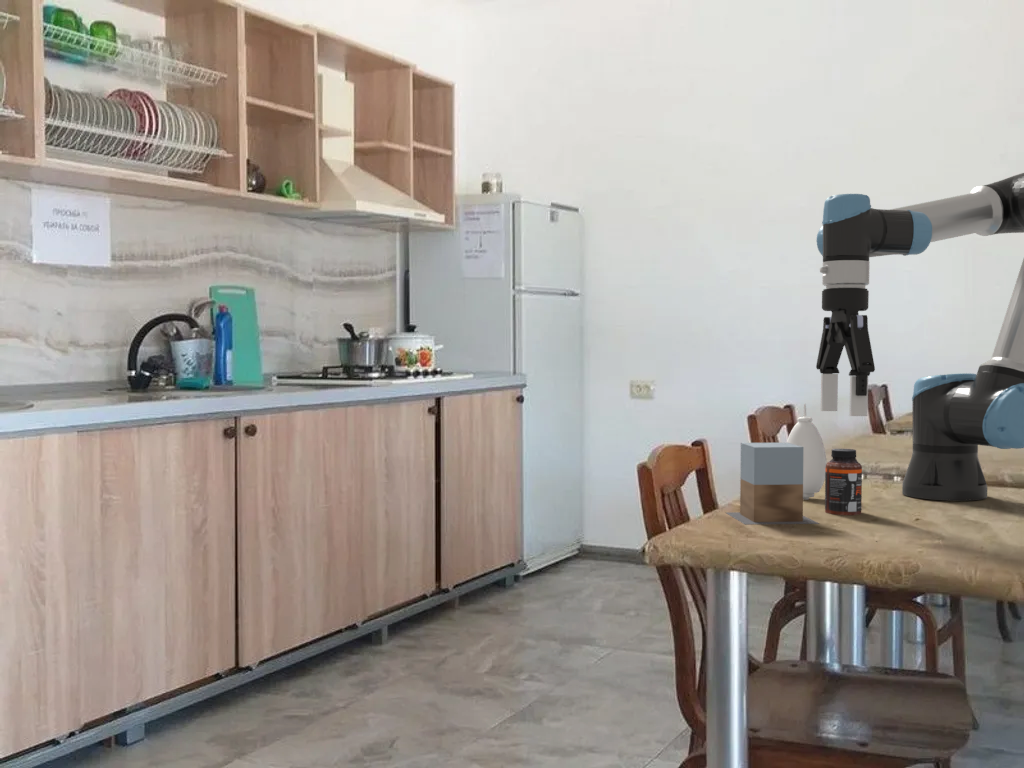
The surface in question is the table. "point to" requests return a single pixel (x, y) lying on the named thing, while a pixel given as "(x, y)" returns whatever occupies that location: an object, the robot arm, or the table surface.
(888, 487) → the table surface
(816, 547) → the table surface
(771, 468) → the slate block
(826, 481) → the supplement bottle
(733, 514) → the rubber mat
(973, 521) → the table surface
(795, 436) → the sauce bottle
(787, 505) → the walnut block
